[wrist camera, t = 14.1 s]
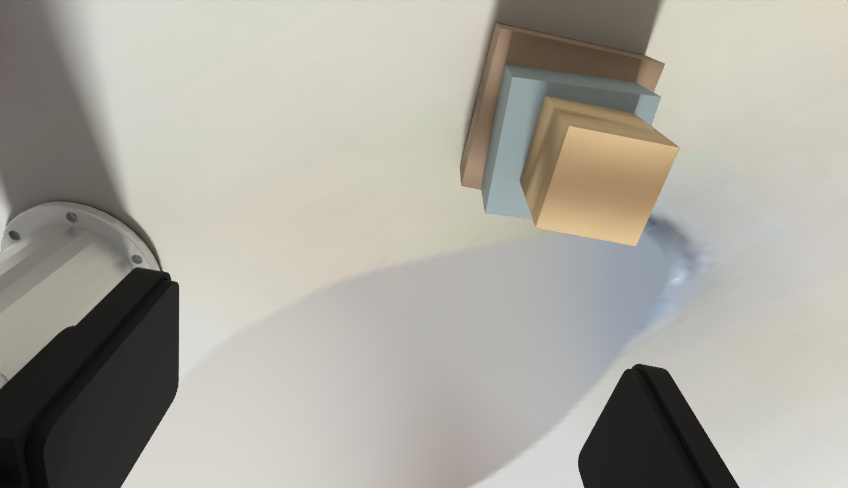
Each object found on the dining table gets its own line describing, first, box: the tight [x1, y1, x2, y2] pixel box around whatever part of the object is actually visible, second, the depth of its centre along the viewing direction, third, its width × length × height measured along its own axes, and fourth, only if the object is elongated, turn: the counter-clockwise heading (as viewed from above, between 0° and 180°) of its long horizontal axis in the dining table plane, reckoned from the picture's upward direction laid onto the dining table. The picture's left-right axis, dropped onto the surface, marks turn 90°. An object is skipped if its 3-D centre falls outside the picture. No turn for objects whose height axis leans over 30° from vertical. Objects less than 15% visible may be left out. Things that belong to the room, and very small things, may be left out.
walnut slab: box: [460, 22, 665, 190], centre depth 34 cm, size 10×10×4 cm
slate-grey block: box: [481, 64, 661, 219], centre depth 30 cm, size 8×8×4 cm
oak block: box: [520, 96, 680, 246], centre depth 26 cm, size 5×5×6 cm
